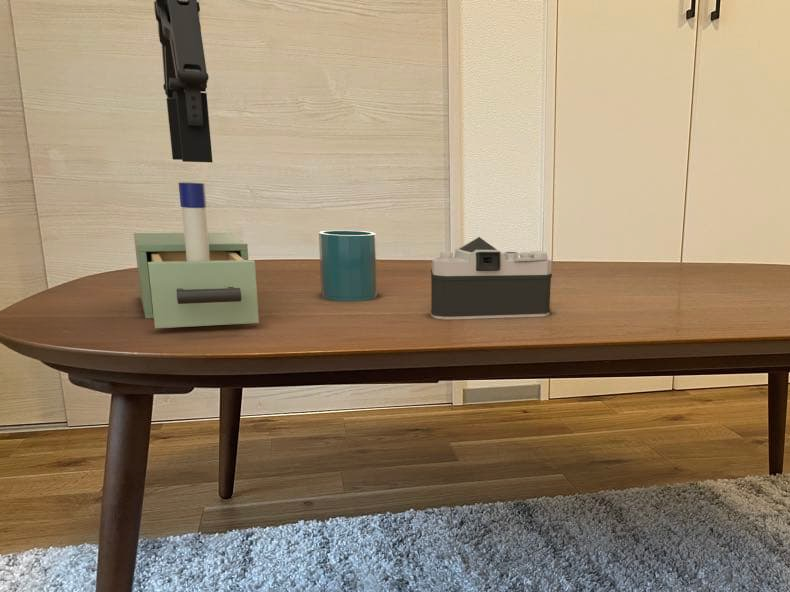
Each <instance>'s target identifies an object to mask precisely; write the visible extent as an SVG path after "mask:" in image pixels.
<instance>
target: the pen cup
mask: <svg viewBox="0 0 790 592" xmlns="http://www.w3.org/2000/svg"><path fill="white" fill-rule="evenodd" d="M318 247H319V271H320V293H321V298H322V299H325V300H327V301H333V302H334V301H335V302H366V301H371V300H372V301H373V300H375V299H377V295H378V294H377V293H378V281H377V279H378V278H377V277H378V275H377V272H378V271H377V234H376V233H375V232H371V231H364V230H323V231H319V232H318Z"/></svg>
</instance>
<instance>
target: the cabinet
mask: <svg viewBox="0 0 790 592" xmlns="http://www.w3.org/2000/svg"><path fill="white" fill-rule="evenodd" d="M133 238H134V247H135V257H136V265H137V266H136V267H137V274H138V283H139V293H140V300H141V305H142V310H143V313H144V317H145V319H154V316H153V307H152V298H151V288H150V279H149V270H148V262H151V255H150V252H166V251H186V248H185V238H184V232H133ZM208 241H209V251H234V252H235V253H236V254H238V255H239V256H240V257H241V258H242V259H244V260H249V251H248V250H249V249H248V248H249V247H248V243H246V242H245V241H243V240H242V239H241V238H239V237H238V236H237V235H235V234H234V233H232V232H208Z"/></svg>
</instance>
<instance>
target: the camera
mask: <svg viewBox="0 0 790 592" xmlns="http://www.w3.org/2000/svg"><path fill="white" fill-rule="evenodd" d="M454 251H455V252H452V251H440V253H439V257H438V256H437V257H436V258H432V259H431V263H430V265H431V266H430V277H431V279H430V280H431V281H430V283H431V286H430V288H431V290H430V291H431V292H430V293H431V296H430V297H431V299H430V300H431V302H430V303H431V304H430V305H431V307H430V308H431V309H430V316H431V317H432V318H434V319H438V320H466V319H467V320H468V319H469V320H470V319H473V320H474V319H499V318H500V319H504V318H530V317H532V318H533V317H534V318H535V317H547V316H549V315H550V312H551V308H550V307H551V286H552V285H551V284H552V277H553V273H552V266H553V265H552V264H553V260H552V259H549V258H548V252H547V251H543V250H532V251H529V252H527V251H526V252H524V251H523V252H517V251H505V252H504V253H503V251H502V252H501V251H500V250H499V249H497V248H496V247H494V246H492V245H491V244H490V243H488V242H487V241H485V240H484V239H483V238H482V237H480V236H477V237H476V238H474V239H472V240H470V241H468V242H467V243H464V244H463V245H461V246H460V247H458V248H456V249H455V250H454Z"/></svg>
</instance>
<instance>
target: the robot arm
mask: <svg viewBox="0 0 790 592" xmlns="http://www.w3.org/2000/svg"><path fill="white" fill-rule="evenodd" d="M153 6H154V7H153V8H154V10H153V11H154V16H155V20H156V21H157V31H158V33H157V34H158V38H159V42H160V44H161V55H162V56H161V57H162V68H163V82H164V83H163V86H162V87H163V90H164V93H165V95H166V105H167V106H166V107H167V117H168V126H169V127H168V128H169V137H170V138H169V139H170V147H171V156H172V160H176V161H177V160H179V161H181V162H185V163H212V164H213V151H212V140H211V139H212V138H211V130H210V129H211V128H210V117H209V106H208V105H209V104H208V94H207V91H206V90H207V88H208V81H209V73H208V72H207V71H208V70H207V65H206V64H207V63H206V57H205V51H204V43H203V37H202V36H203V35H202V27H201V20H200V19H201V7H200V2H199V1H198V0H155V1H153Z"/></svg>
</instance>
